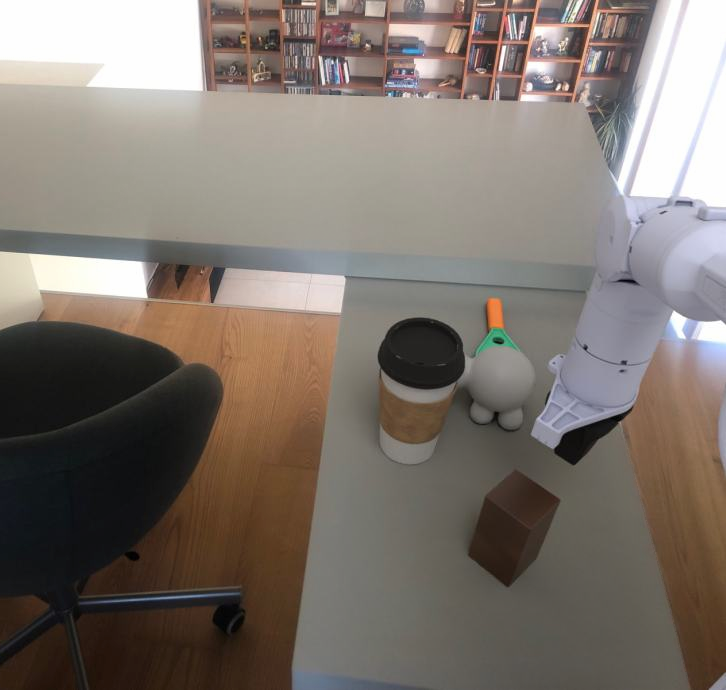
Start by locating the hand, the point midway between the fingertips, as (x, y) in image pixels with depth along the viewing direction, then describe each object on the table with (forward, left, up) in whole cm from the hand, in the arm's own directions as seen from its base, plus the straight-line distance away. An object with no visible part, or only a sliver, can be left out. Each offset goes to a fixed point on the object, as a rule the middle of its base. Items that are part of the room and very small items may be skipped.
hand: (567, 455), depth 62 cm
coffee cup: (+15, +3, -9) cm, 18 cm away
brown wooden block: (0, +7, -9) cm, 11 cm away
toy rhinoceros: (+14, -7, -9) cm, 18 cm away
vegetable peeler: (+18, -18, -9) cm, 27 cm away
